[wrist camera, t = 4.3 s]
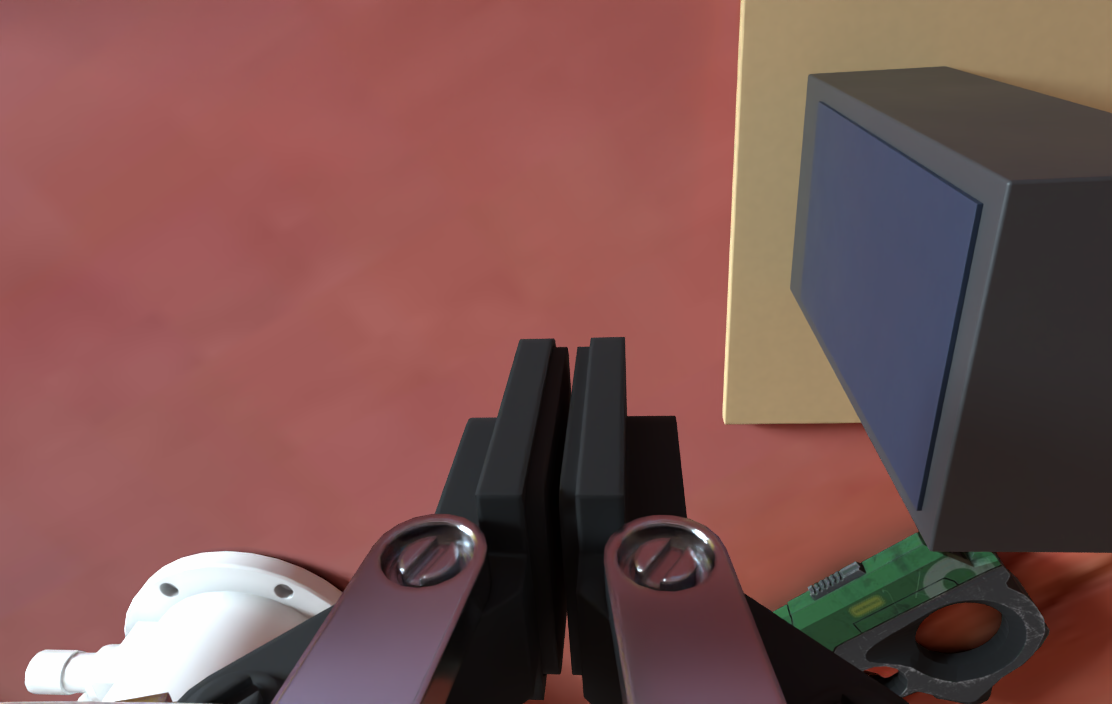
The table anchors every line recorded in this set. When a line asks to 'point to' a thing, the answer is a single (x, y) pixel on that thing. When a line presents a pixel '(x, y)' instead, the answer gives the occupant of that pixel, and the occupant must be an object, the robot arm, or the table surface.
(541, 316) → the table surface
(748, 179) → the cork mat
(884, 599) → the gun
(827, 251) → the black device
